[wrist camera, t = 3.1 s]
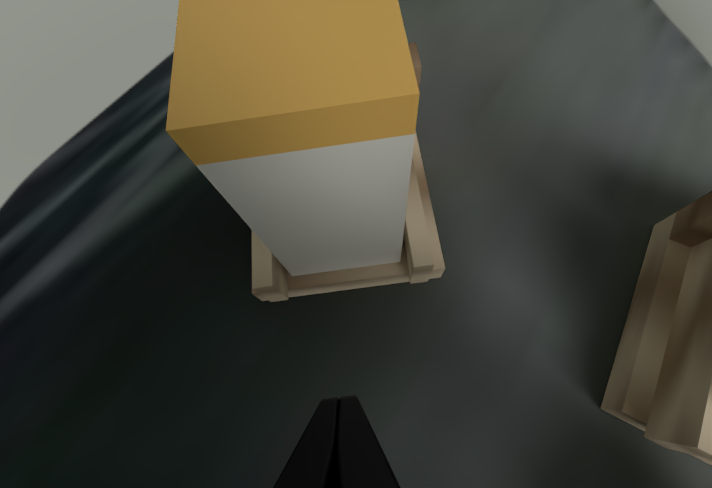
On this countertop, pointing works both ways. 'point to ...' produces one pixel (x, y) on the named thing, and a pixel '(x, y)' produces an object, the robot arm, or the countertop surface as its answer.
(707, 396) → the guide
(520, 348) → the countertop surface
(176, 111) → the button
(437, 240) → the guide
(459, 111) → the countertop surface
